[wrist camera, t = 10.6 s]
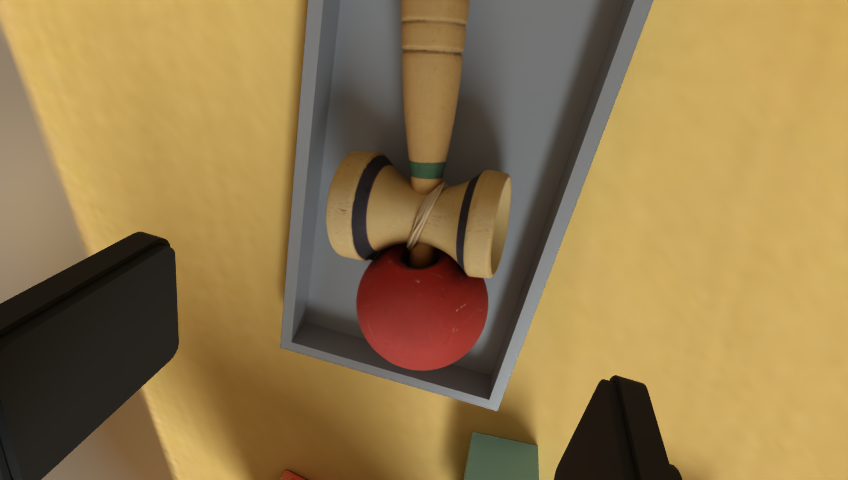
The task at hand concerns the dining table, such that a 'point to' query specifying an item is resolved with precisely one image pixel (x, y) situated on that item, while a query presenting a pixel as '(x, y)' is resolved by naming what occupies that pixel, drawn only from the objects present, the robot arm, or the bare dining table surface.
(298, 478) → the cracker box
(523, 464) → the teal block
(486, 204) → the kendama
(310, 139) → the tray
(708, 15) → the dining table surface
